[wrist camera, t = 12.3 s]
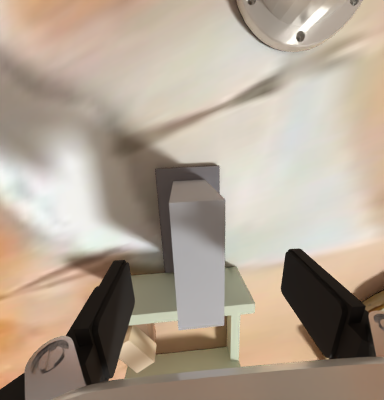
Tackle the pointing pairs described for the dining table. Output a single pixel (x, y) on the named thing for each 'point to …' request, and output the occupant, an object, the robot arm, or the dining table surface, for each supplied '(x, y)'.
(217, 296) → the tall grey upright block
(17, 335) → the dining table surface
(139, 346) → the offcut
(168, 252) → the panel
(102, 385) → the robot arm
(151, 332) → the offcut
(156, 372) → the rack
